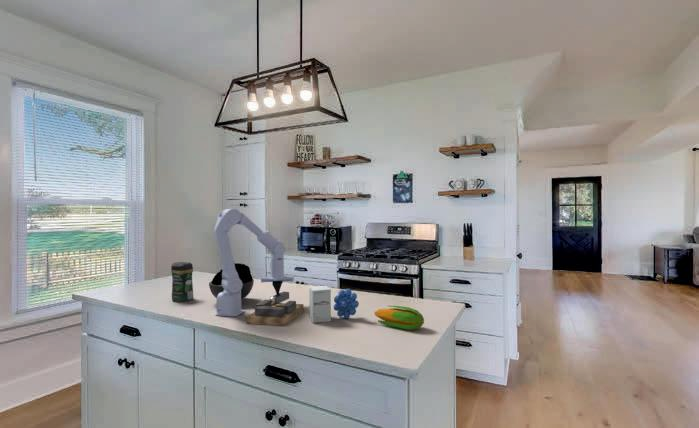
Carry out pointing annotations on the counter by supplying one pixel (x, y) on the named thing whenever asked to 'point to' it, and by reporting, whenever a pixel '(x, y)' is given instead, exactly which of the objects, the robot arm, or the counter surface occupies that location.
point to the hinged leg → (279, 298)
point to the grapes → (346, 303)
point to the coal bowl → (243, 276)
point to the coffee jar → (182, 281)
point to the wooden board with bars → (274, 313)
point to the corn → (400, 317)
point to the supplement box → (320, 304)
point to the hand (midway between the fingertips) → (278, 297)
